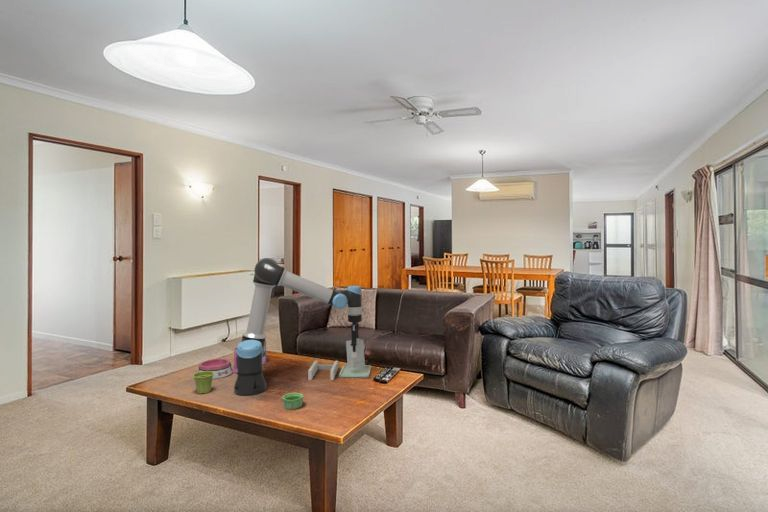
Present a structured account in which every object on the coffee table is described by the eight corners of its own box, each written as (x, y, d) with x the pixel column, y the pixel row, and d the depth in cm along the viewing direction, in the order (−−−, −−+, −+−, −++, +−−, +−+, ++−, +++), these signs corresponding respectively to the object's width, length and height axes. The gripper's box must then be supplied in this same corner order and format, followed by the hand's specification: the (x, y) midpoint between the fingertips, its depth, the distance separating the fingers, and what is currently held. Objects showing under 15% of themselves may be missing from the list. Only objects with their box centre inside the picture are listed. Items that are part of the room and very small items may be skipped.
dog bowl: (234, 377, 226) (233, 364, 226) (196, 382, 219) (195, 369, 219) (232, 367, 243) (232, 356, 243) (197, 372, 236) (197, 360, 236)
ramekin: (298, 400, 192) (297, 391, 191) (306, 406, 184) (306, 396, 184) (279, 405, 186) (279, 395, 186) (287, 411, 179) (287, 401, 179)
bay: (333, 379, 220) (333, 370, 219) (308, 379, 220) (308, 370, 220) (338, 368, 239) (338, 359, 239) (315, 368, 239) (315, 359, 239)
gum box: (245, 374, 230) (244, 350, 230) (232, 373, 232) (231, 349, 232) (266, 362, 254) (266, 339, 253) (254, 361, 255) (254, 339, 255)
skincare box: (359, 364, 236) (357, 337, 236) (365, 366, 231) (364, 339, 231) (346, 367, 231) (345, 340, 230) (353, 369, 226) (351, 341, 226)
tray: (369, 378, 222) (369, 375, 222) (338, 378, 222) (338, 375, 222) (370, 367, 240) (370, 365, 240) (343, 367, 240) (343, 365, 240)
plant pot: (218, 390, 206) (218, 372, 205) (201, 396, 198) (201, 378, 197) (206, 387, 211) (205, 370, 210) (189, 393, 202) (188, 375, 202)
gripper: (359, 317, 219) (360, 360, 220) (363, 310, 241) (363, 349, 242) (345, 318, 219) (346, 360, 220) (350, 311, 241) (350, 349, 242)
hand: (355, 354), depth 231 cm, fingers closed on skincare box, 9 cm apart
